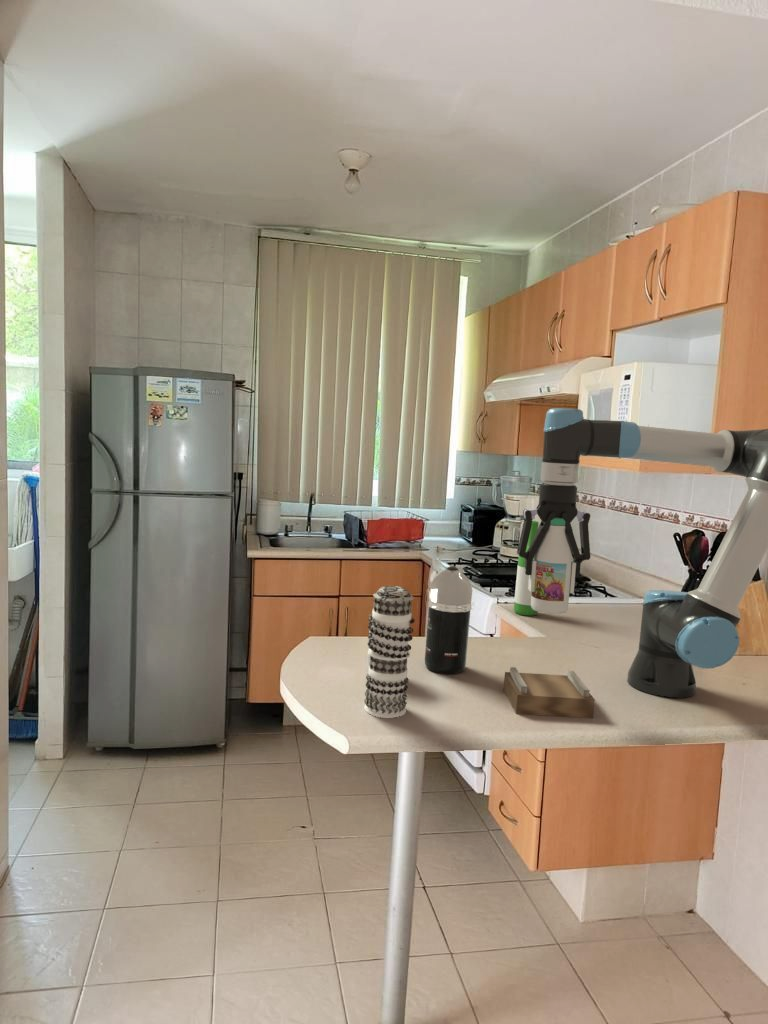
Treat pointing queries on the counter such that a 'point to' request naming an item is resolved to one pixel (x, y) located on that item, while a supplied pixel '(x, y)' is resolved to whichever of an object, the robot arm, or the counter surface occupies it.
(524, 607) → the wine bottle
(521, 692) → the display riser
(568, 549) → the milk bottle
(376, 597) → the decorative candle
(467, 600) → the black water bottle
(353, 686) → the counter surface
